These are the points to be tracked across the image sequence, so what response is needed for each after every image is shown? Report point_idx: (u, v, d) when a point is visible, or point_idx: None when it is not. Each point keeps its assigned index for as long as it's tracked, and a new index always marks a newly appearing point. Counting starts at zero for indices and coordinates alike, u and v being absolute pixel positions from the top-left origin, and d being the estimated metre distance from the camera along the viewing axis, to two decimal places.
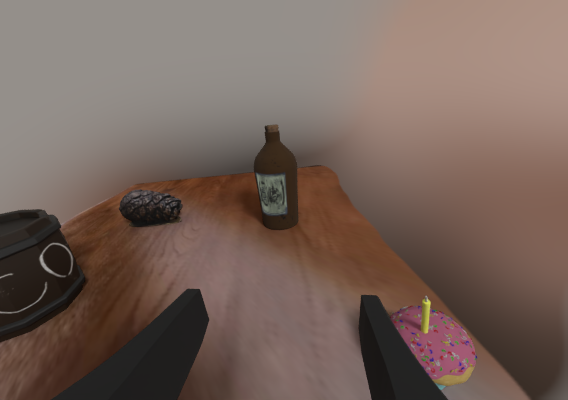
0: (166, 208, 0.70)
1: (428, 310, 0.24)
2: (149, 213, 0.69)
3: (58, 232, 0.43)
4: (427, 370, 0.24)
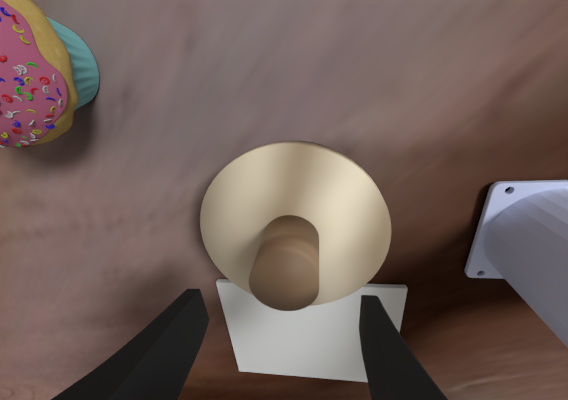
0: None
1: None
2: None
3: None
4: (49, 90, 0.12)
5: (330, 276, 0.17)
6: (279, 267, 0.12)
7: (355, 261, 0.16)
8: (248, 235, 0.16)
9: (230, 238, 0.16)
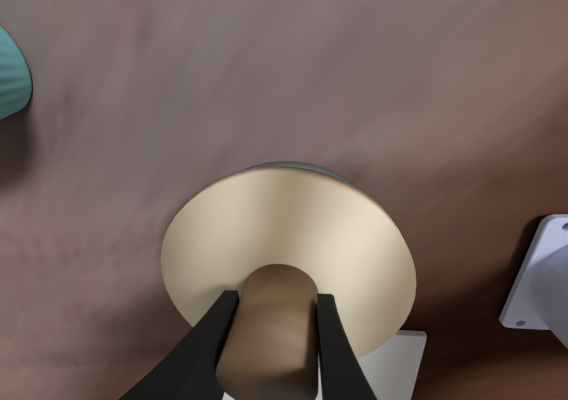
0: None
1: None
2: None
3: None
4: None
5: None
6: (258, 363, 0.08)
7: (365, 321, 0.12)
8: (224, 286, 0.12)
9: (202, 289, 0.13)
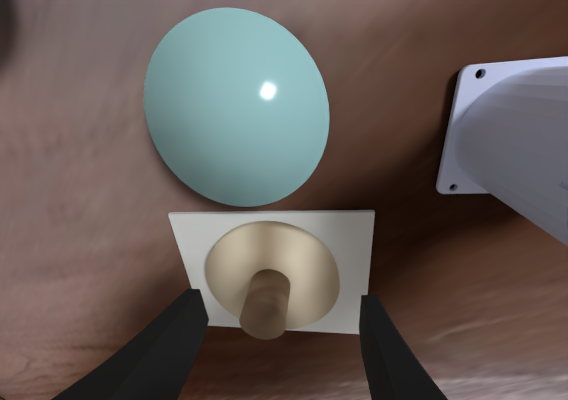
0: None
1: None
2: None
3: None
4: None
5: (304, 307, 0.23)
6: (256, 313, 0.18)
7: (318, 296, 0.22)
8: (240, 284, 0.23)
9: (229, 287, 0.23)
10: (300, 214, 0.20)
